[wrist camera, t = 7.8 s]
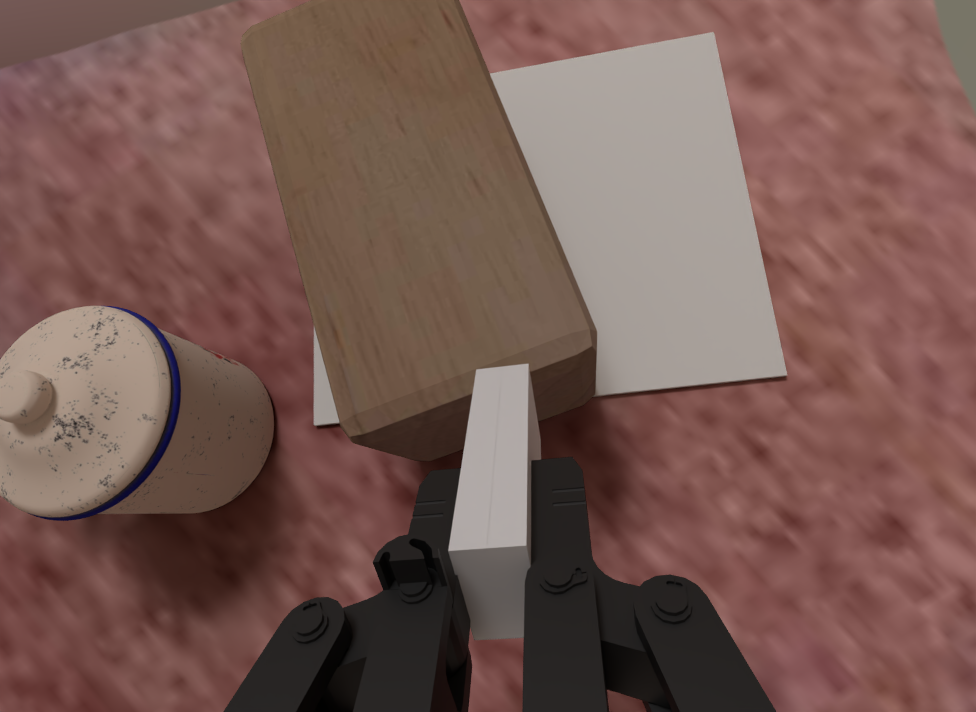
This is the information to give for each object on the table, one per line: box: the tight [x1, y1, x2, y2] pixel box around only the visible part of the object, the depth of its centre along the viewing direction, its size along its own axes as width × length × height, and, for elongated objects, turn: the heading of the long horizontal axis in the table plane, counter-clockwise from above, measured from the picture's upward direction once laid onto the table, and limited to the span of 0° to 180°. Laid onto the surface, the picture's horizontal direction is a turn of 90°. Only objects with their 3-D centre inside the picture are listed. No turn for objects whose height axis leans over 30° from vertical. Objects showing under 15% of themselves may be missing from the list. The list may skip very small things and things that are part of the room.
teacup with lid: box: [0, 306, 274, 521], centre depth 28 cm, size 12×9×12 cm
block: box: [241, 0, 597, 461], centre depth 28 cm, size 10×10×20 cm
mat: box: [314, 32, 787, 426], centre depth 33 cm, size 24×20×1 cm
